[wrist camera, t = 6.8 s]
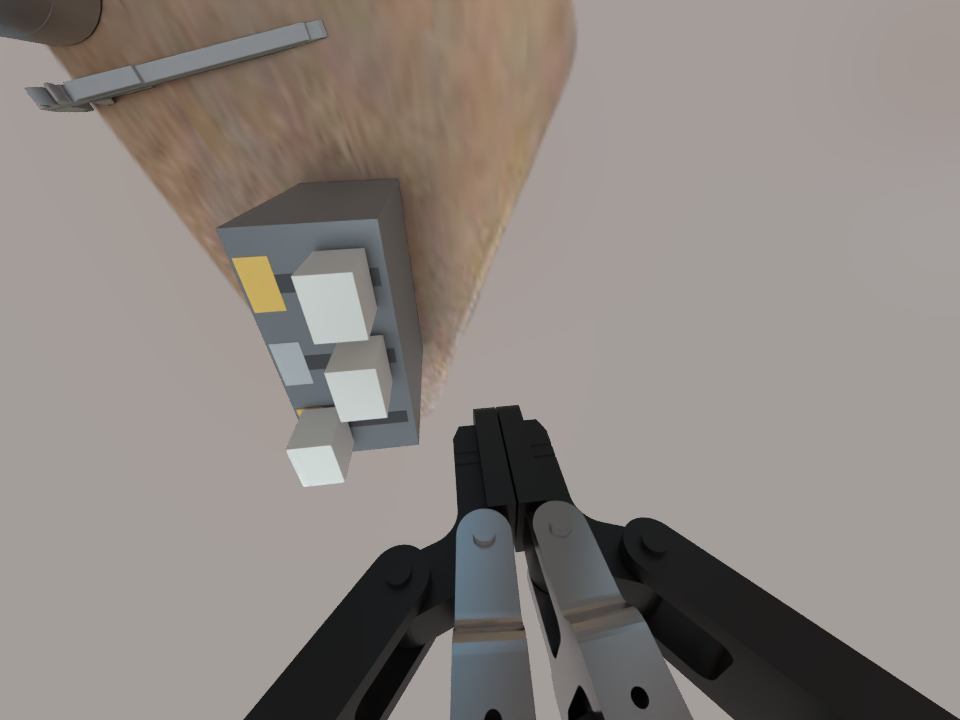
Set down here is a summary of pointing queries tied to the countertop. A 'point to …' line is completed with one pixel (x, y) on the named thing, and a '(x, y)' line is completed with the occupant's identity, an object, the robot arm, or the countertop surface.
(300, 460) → the tab back
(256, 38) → the caliper
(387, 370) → the tab middle
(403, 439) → the switch box
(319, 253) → the tab front
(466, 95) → the countertop surface
